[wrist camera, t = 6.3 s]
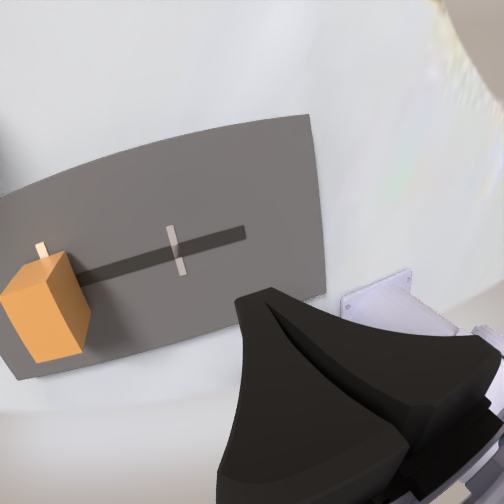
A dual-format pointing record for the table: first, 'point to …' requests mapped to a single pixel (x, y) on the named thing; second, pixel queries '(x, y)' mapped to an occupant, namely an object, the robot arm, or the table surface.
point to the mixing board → (171, 236)
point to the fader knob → (48, 308)
